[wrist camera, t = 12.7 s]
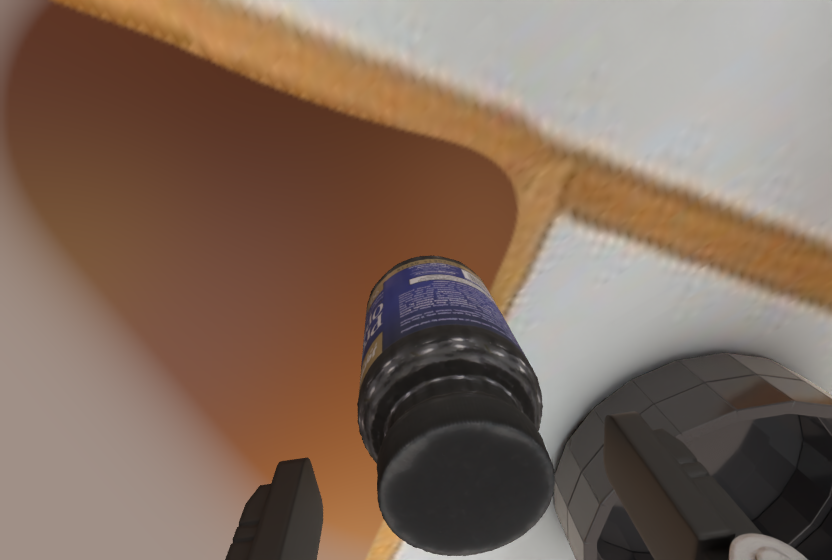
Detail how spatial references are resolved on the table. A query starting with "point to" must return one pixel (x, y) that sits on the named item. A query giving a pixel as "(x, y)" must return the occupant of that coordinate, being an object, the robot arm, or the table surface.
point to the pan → (712, 452)
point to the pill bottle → (450, 412)
